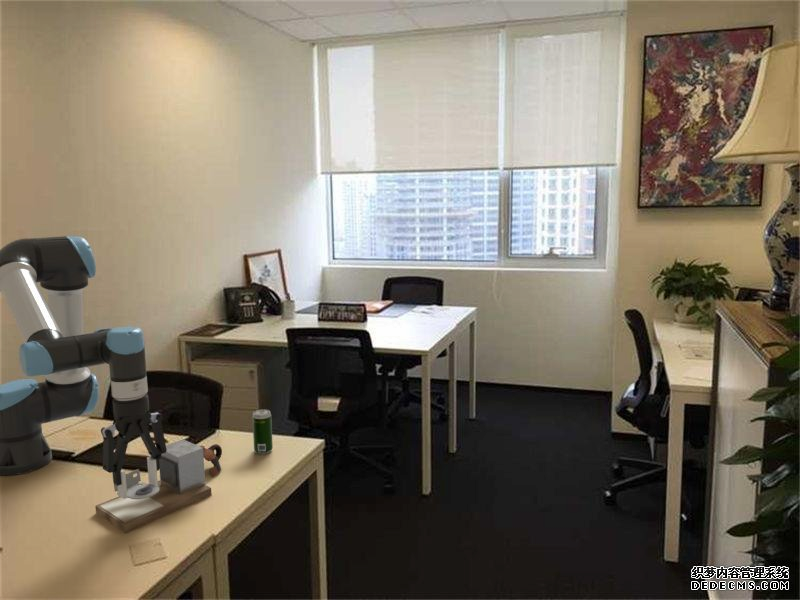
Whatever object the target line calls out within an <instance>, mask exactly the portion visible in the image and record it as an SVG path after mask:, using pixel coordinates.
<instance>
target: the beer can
mask: <svg viewBox="0 0 800 600" xmlns="http://www.w3.org/2000/svg"><path fill="white" fill-rule="evenodd" d="M272 423H273V422H272V413H271V411H270V410H269V409H258V410H255V411H253V412H252V432H253V433H252V434H253V435H252V436H253V437H252V439H253V450H254V452H255V454H257V455H267V454H270V453H271V452H273V447H274V446H273V427H272V426H273V424H272Z"/></svg>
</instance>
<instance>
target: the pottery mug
mask: <svg viewBox="0 0 800 600" xmlns="http://www.w3.org/2000/svg"><path fill="white" fill-rule="evenodd" d="M199 446H200V447H202V448H203V456H204V460H205V461H207V462H211V464H213V466H212V468H211V469H210V470H209V473H210V475H211V476H212V478H215V477H216V476H217V475H219V474H220V472H221V471H222V468H221V464H220V461H219V460H221V457H222V454H223V449H222V447H221V446H220V445H219V444H217V443H215V444H212V445H211V446H209V447H208V448H206V447H205V446H204V445H199Z"/></svg>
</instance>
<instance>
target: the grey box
mask: <svg viewBox="0 0 800 600" xmlns="http://www.w3.org/2000/svg"><path fill="white" fill-rule="evenodd" d="M200 446H201V445H196V444H195V443H192V442H190V441H188V440H186V439H180V440H177V441H173V442H171V443H168V444H166V449H167V451H166V453H163V454H161V456H162V457H161V459H159V464H160V469H159V478H160V479H159V480H161V485H162V486H164V487H166V488H168V489H170V490H172V491H173V492H175V493H177V494H179V495H183V494H185V493H188V492H190V491H192V490H195V489H197V488H199V487H202V486H204V485H206V477H205V476H206V474H205V461H204V460H205V458H204V456H203V448H202V447H200Z"/></svg>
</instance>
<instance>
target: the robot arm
mask: <svg viewBox="0 0 800 600" xmlns="http://www.w3.org/2000/svg"><path fill="white" fill-rule="evenodd" d="M96 265H97V264H96V261H95V256H94V252H93V251H92V248H91V246H90V244H89V242H88V241H87V240H86V238H84V237H82V236H68V235H63V236H62V235H61V236H51V237H48V236H47V237H34V238H33V237H31V238H19V239H16V240H13V241H10V242H9V243H6V245H4V246H3V247H1V249H0V293H2V295H3V298H4V300H5V302H6V304H7V307H8V309H9V311H10V313H11V315H12V318H13V319H14V322H15V324H16V327H17V328H18V332H19V333H20V335H21V336H20V337H21V338H22V341H23V343H22V344H20V347H19V350H18V351H19V352H18V355H19V358H18V359H19V364H20V365H21V370H22V373H24V375H26V376H27V377H38V376H45V377H44V378H45V381H42V382H38V381H37V380H36V379H34V378H25V379H22V378H21V379H16V380H13V381H9V382H6V383H3V384H1V385H0V476H15V475H20V474H25V473H30V472H32V471H36V470H38V469H41V468H42V467H45V466H46V465H48V464H49V463H50V462H51V461H52V460H53V454H52V448H51V447H50V445H49V443H48V441H47V440H46V437H45V435H44V433H43V430H42V429H43V427H42V425H43V424H47V423H52V422H56V421H59V420H61V421H62V420H64V419H69V418H74V417H80V416H82V415H86V414H89V413H91V412H93V411H94V410H95V409H96V407H97V405H98V401H99V396H100V395H99V394H100V393H99V391H100V390H99V383H98V379H97V377H96V375H95V374H94V373H91V370H90V369H89V367H95V366H98V365H99V366H100V365H106V364H108V366H109V377H110V378H109V379H110V389H111V390H110V391H111V397H112V398H113V399H112V400H111V401H112V412H113V413H112V414H113V422H112V424H111V425H109V426H107V427H101V429H100V432H101V435H102V439H103V441H102V470H104V471H105V472H107V473H110V474H111V473H112V481H113V485H114V484H115V485H117V487H118V491H117V493H118V494H117V497H119V496H120V497H122V498H123V499H126V498H127V487H126V476H125V474H126V471H125V470H124V469H122V468H123V465H124V461H125V458H126V453H127V449H128V446H129V443H130V441H131V439H132V438H133V437H135V436H137V435H139V436H140V438H141V440H142V442H143V444H144V446H145V448H146V450H147V452H148V454H149V456H148V457H146V461H147V474H148V477H147V478H148V484H151V485H154V486H158V481H159V480H158V471H160V464H159V459H161V457H162V456H161V454H163V453H166V451H167V449H166V445H167V443H166V440H165V435H164V429H163V424H162V422H163V418H164V417H163V416H164V415H163V414H162V413H159V412H157V411H154V412H152V413H151V412H150V400H149V397H150V396H149V394H148V391H149V388H148V387H149V386H148V377H147V363H146V349H145V346H146V341H145V340H144V339H145V337H144V333H143V330H142V328H140V327H138V326H120V327H114V328H109V327H102V328H101V327H100V328H98V329H96V330H95V331H93V332H91V333H84V307H83V306H84V305H83V302H84V301H83V300H84V299H83V291H84V290H85V289H86V288H87V287H89V279H92V278H94V277H95V276H96V273H97V266H96ZM38 283H39V284H40V288H41V289H43V290H44V291H45V292H46V295H47V302H46V299H45V297H44V296H43V293H42V291H41V289H40V288H39V285H38ZM150 422H151V428H152V433H153V437H154V438H152V436H151V432H150V430H149V428H148V425H149V423H150ZM115 431H117V432H118V433H117V437H116V438H117V441H116V446H115V438H114V436H115V435H116V433H115ZM153 439H154V440H153Z"/></svg>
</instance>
